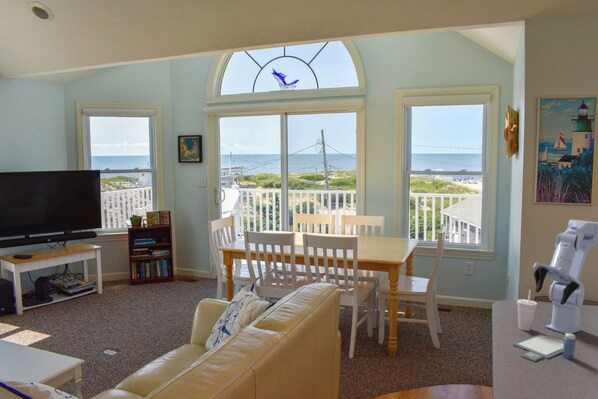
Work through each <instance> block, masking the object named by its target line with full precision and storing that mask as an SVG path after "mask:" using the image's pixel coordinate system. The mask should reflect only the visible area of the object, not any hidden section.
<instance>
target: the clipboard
mask: <svg viewBox="0 0 598 399" xmlns="http://www.w3.org/2000/svg"><path fill="white" fill-rule="evenodd" d="M563 344H564V340H560V339H559V338H558V339H557V338H555V337H552V336H550V335H543V334H537V335H534V336H531V337H528V338H525V339H523V340H521V341H517V342H514V343H512V346H514V345H515V347H516V346H518V347H517V348H519V347H520V348H519V349H521V348H523V349H522V350H524V349H526V350H528V351H527V352H529V351H531V352H534V353H536V354H539V355H541V356H543V359H546V360H548V359H550V358H553V357H555V356H558V355H560V354H563ZM526 350H525V351H526Z"/></svg>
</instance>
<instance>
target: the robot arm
mask: <svg viewBox="0 0 598 399" xmlns="http://www.w3.org/2000/svg"><path fill="white" fill-rule="evenodd" d="M556 235H557V236H556V237H555V245H554V253H553V256H552V259H551V262H550V265H547V264H545V263H541V262H538V261H536V262H535V263H534V264H533V266H532V270H534V272H533V277H534V280H535V292H536V293H539V292H540V291H541V290H542V288H543V285H544V282H545V281H544V280H546V277H548V278H550V279H551V280H553V282H552V284H551V285H550V287H549V289H548V290H549V292H548V298H549V300H550V301H551V304H552V312H551V313H552V314H551V322H550V324H547V325H545V327H546V328H548V329H551V330H554V331H556V332H559V333H562V334H564V335H565V334H566V333H570V334H574V333H577V332H580V331H582V330H583V329H582V328H581V327H580V323H581V312H582V311H581V309H580V307H582V305H583V303H584V298H585V286H584V284H583V282H581V281H579V279H580V277H581V274H582V270H583V267H584V263H585V261H586V257H587V254H588V252H589V250H590V249H592V248H594V247H596V245H598V221H597V222H596V221H591V220H590V221H587V220H581V219H580V220H578V219H574V218H571V219H570V220H568V223H567V229H566V230H565V231H564V232H560V233H558V234H556Z"/></svg>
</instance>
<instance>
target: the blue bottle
mask: <svg viewBox="0 0 598 399" xmlns="http://www.w3.org/2000/svg"><path fill="white" fill-rule="evenodd" d="M576 340H577V339H576V335H575V334H574V333H572V334H570V333H566V334H565V333H564V336H563V341H564V344H563V353H561V354H562V358H564V359H566V360H574V359H575V350H576Z"/></svg>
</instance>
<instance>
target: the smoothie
mask: <svg viewBox="0 0 598 399" xmlns="http://www.w3.org/2000/svg"><path fill="white" fill-rule="evenodd" d="M531 291H532V290H531V289H529V290H528V297H527V299H526V298H519V299H517V300H516V305H517V320H518V321H517V322H518V323H517V324H518V329H519V330H522V331H527V332H528V331H531V329H532V324H533V321H534V316H535V313H536V308H537V307H538V303H537V302H536V301H534V300H531V293H532V292H531Z"/></svg>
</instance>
